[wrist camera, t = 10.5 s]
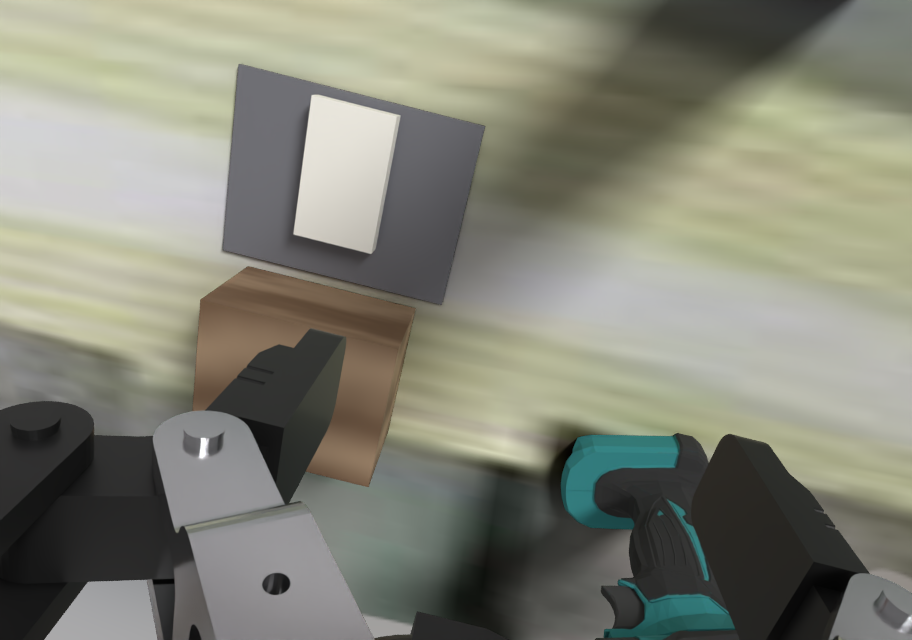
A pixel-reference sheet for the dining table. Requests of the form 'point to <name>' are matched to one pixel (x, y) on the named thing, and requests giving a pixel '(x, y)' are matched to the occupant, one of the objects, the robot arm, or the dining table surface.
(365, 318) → the walnut block
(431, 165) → the mat
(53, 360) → the dining table surface
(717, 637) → the power drill
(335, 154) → the card box
